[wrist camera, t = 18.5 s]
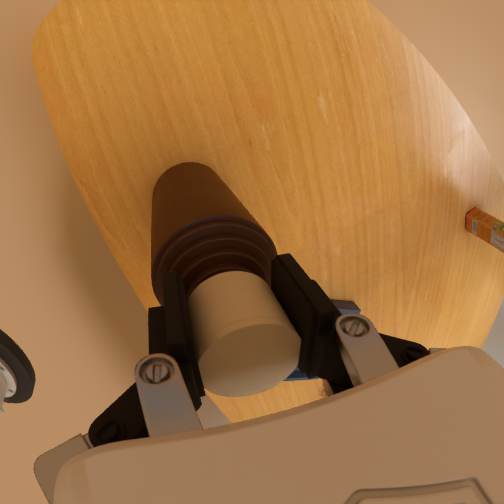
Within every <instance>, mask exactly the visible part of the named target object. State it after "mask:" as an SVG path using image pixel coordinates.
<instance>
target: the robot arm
mask: <svg viewBox="0 0 504 504" xmlns="http://www.w3.org/2000/svg"><path fill="white" fill-rule="evenodd" d="M271 290H272V292H273V293H274V295H275V297H276V298H277V300H278V302H279V303H280V305H281V306H282V308H283V310H284V311H285V313H286V315H287V316H288V318H289V320H290V321H291V323H292V325H293V326H294V328H295V330H296V331H297V333H298V334H299V336H300V338H301V347H300V354H299V361H298V365H297V366H298V368H299V370H300V372H301V373H306V375H307V377H308V379H312V378H315V377H318V378H322V380H323V385H324V387H325V390H326V393H327V396H328V397H326V398H323V399H320V400H317V401H314V402H311V403H308V404H305V405H301V406H298V407H295V408H292V409H288V410H285V411H281V412H278V413H274V414H270V415H266V416H262V417H259V418H255V419H250V420H246V421H242V422H237V423H233V424H228V425H223V426H219V427H213V428H208V429H203V427H202V425H201V422H200V420H199V418H198V415H197V413H196V411H197V410H198V409H199V408H200V406H201V405H202V403H201V399H200V397H202V396H205V391H204V386H203V382H202V378H201V374H200V370H199V365H198V361H197V356H196V351H195V346H194V340H193V335H192V330H191V324H190V319H189V313H188V307H187V301H186V295H185V290H184V284H183V278H182V274H177V273H176V271H173V272H166V273H163V293H164V306H159V307H152V308H149V310H148V319H149V320H148V327H149V330H148V331H149V355H148V356H146V357H144V358H143V359H141V360H140V361H139V362H138V364H137V365H136V368H135V379H136V382H135V383H134V384H133V385H132V386H131V387H130V388H129V389H128V390H126V391H125V392H124V393H123V394H122V395H121V396H120V397H119V398H118V399H117V400H116V401H115V402H114V403H112V404H111V405H110V406H109V407H108V408H107V409H106V410H105V411H104V412H103V413H102V414H101V415H100V416H98V417H97V418H96V419H95V420H94V422H93V423H92V424H91V426H90V428H89V432H88V433H87V434H85V435H83V436H82V435H81V434H78V435H77V436H75V437H73V438H71V439H69V440H68V441H66V442H64V443H62V444H60V445H58V446H57V447H55V448H53V449H51V450H49V451H47V452H45V453H44V454H42V455H40V456H39V457H38V458H37V459H36V461H35V463H34V473H35V476H36V478H37V480H38V483H39V485H40V487H41V489H42V491H43V492H44V495H45V496H46V499H47V500H48V503H49V504H504V369H503V368H502V367H501V366H500V365H499V364H498V363H497V362H496V361H495V360H494V359H493V358H492V357H491V356H489V355H488V354H487V353H485V352H484V351H483V350H481V349H479V348H476V347H471V346H462V347H453V348H448V349H446V348H429V350H427V349H426V348H425V347H424V346H422V345H421V344H418V343H415V342H411V341H407V340H403V339H400V338H396V337H392V336H388V335H384V334H381V333H378V331H377V330H376V328H375V327H374V325H373V323H372V322H371V321H370V320H369V319H368V318H367V317H365V316H363V315H360V314H356V313H347V314H343V315H342V314H341V312H340V311H339V310H338V309H337V307H336V306H335V305H334V304H333V302H332V301H331V300H330V299H329V297H328V296H327V295H326V294H325V292H324V291H323V290H322V289H321V287H320V286H319V285H318V284H317V282H316V281H314V280H311V279H310V278H309V277H308V275H307V274H306V273H305V272H304V270H303V269H302V268H301V267H300V265H299V264H298V263H297V262H296V260H295V259H294V258H293V257H292V255H291V254H290V253H287V254H281V255H276V257H275V259H272V261H271ZM16 388H17V380H16V378H15V375H14V373H13V372H12V370H11V369H10V367H9V366H8V365H7V363H6V362H5V361H4V360H3V359H2V358H1V357H0V414H3V409H2V405H3V401H4V398H5V397H10V396H13V395H14V394H15V392H16Z"/></svg>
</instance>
